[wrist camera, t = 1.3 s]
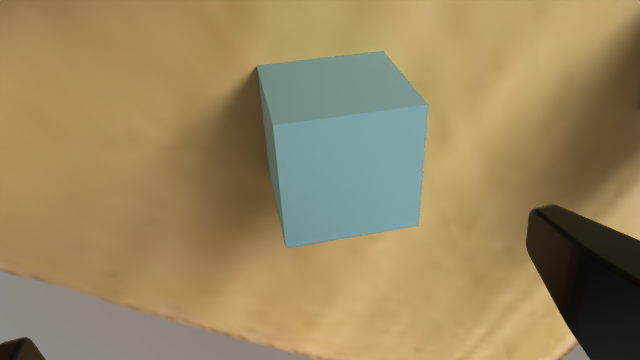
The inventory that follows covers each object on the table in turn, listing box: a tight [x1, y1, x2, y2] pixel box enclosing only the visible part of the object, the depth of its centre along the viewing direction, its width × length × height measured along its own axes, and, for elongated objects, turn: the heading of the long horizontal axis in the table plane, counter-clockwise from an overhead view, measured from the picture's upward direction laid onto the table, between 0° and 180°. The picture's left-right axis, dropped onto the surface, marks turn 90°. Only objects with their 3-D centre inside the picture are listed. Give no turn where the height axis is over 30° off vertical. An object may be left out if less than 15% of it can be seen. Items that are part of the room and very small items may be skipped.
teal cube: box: [257, 51, 428, 248], centre depth 20 cm, size 5×5×5 cm
